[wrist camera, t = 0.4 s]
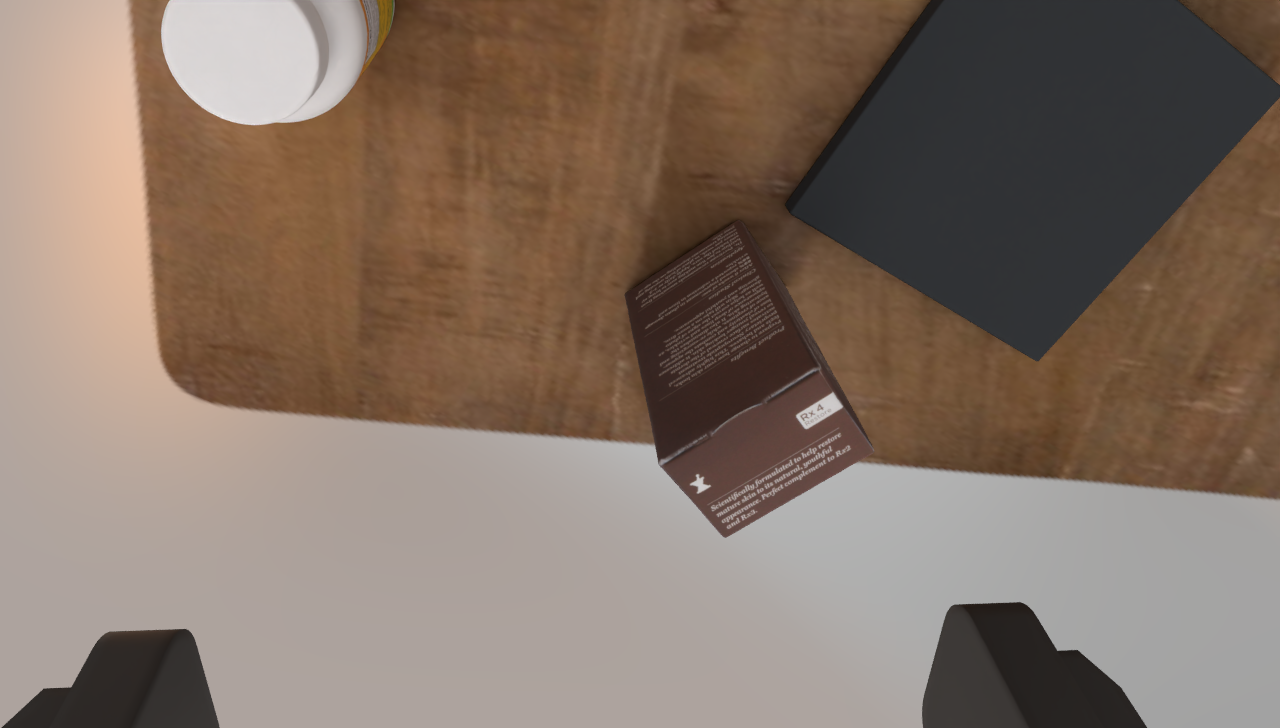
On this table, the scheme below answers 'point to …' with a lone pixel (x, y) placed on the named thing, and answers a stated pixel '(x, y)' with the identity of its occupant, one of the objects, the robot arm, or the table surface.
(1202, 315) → the table surface
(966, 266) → the charcoal mat
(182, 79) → the supplement bottle
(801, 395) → the box
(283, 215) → the table surface
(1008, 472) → the table surface
